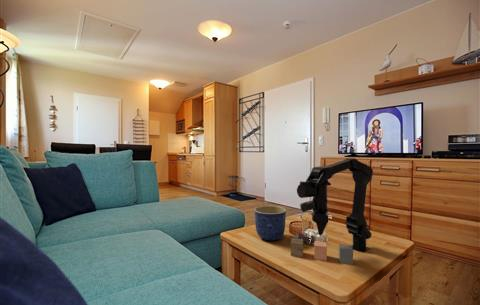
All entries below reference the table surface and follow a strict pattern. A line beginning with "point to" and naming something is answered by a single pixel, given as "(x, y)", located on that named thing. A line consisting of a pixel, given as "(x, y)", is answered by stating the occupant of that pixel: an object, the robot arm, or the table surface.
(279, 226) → the planter
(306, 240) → the walkie-talkie
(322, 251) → the terracotta block
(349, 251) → the charcoal block
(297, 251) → the walnut block
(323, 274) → the table surface
